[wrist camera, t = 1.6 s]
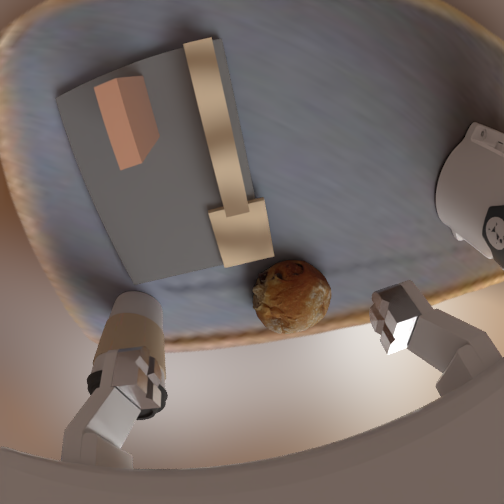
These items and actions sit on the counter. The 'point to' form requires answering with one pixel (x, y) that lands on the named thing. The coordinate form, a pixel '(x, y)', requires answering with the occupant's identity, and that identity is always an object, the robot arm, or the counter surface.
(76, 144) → the mat
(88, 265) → the counter surface
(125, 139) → the tile
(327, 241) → the counter surface
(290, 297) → the bread roll
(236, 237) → the spatula
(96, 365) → the coffee cup
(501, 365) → the robot arm
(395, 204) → the counter surface
